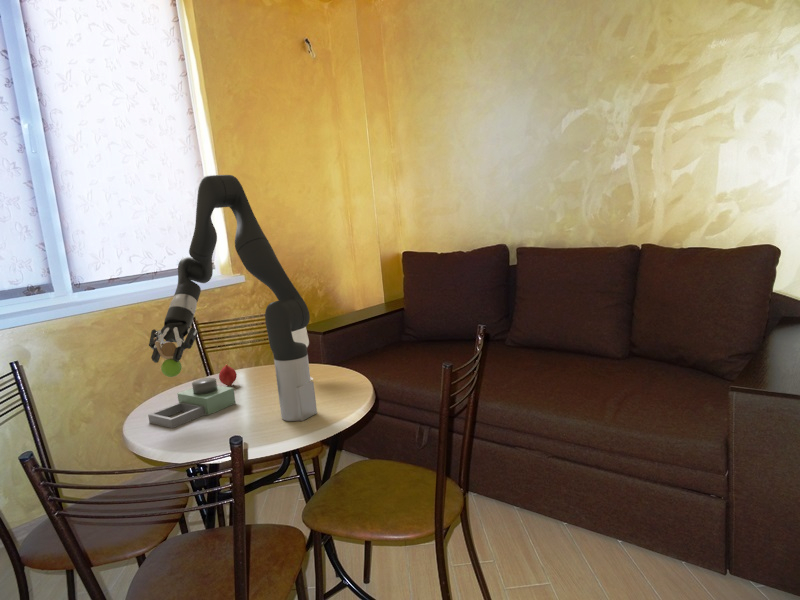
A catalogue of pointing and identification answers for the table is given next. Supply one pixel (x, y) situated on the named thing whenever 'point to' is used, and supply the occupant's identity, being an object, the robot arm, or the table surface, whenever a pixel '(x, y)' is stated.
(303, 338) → the champagne flute
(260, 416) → the table surface
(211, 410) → the box with drawer
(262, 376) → the table surface
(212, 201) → the robot arm
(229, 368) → the onion
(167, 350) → the snail figurine
